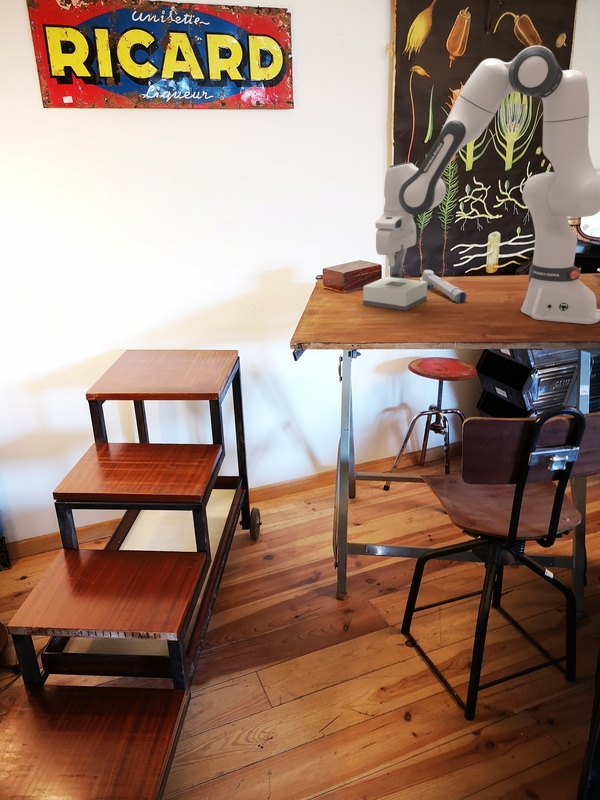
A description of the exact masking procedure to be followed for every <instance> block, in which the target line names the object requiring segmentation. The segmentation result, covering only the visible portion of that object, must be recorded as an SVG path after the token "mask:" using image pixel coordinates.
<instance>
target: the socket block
mask: <svg viewBox="0 0 600 800" xmlns="http://www.w3.org/2000/svg"><path fill="white" fill-rule="evenodd" d="M362 290H363V292H362V293H363V294H362V295H363V296H362V297H363V298H362V299H363V300H362V302H363V303H362V304H363V305H364V306H369V307H375V306H376V307H377V308H382V309H388V308H390V310H394V309H397V311H401V310H404V311H403V312H406V311H409V310H410V309H412V308H414V307H415V306H418V305H419V304H421V303H423V302H426V301H427V297H428V296H427V295H428V293H427V291H428V289H427V282H426V281H420V280H416V279H409V278H408V279H407V278H402V277H390V276H385V277H382V278H380V279H378V280H375V281H373V282H372V281H371V282H370V283H368V284H365V285H363V289H362ZM376 307H375V308H376Z"/></svg>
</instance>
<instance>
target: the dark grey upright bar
mask: <svg viewBox="0 0 600 800" xmlns="http://www.w3.org/2000/svg"><path fill="white" fill-rule="evenodd" d="M394 258H395V260H396V266H394V267H390V266H389V277H393V278H402V277H403V266H404V265H403V264H404V262H403V245H401V250H400V251H397V252H395V256H394Z"/></svg>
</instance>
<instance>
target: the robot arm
mask: <svg viewBox="0 0 600 800" xmlns="http://www.w3.org/2000/svg"><path fill="white" fill-rule="evenodd" d="M515 92H516V93H519V94H521V95H524V96H527V97H534V98H541V100H542V106H543V109H542V110H543V117H542V152H543V155H544V157H546V158H547V160H548V161H550V163H551V166H552V168H553V172H552V171H548V172H541V173H538V174H534V175H531V176H529V178H528V179H527V180H526V182H525V184H524V185H523V189H522V193H521V194H522V195H521V196H522V197H521V198H522V201H523V203H524V205H525V207H526V208H527V209H528V210H529V213H530V216H531V219H532V222H533V227H534V237H535V238H534V250H533V257H532V262H531V264H530V268H529V272H528V273H529V274H528V288H527V291H526V294H525V298H524V301H523V304H522V306H521V307H520V311H521V313H523V314H525V315H528V316H530V317H531V318H532V319H534V320H539V321H540V320H541V321H548V322H549V321H550V322H559V323H561V322H562V323H571V324H581V325H583V324H584V325H593V324H597V323H599V322H600V308H597V298H596V294H595V292H593V291H592V289H590V288H589V287H588V286H586V285H587V284H586V285H585V283H583V282H582V281H581V280H580V274H581V269H582V268H581V267H579V268H578V267H577V266H576V265H575V257H576V252H577V245H578V237H577V234H576V233H575V232H574V230H573V229H572V228H571V226H570V222H569V220H568V219H569V218H587V217H593V216H595V215H597V214H599V212H600V175H599V174H598V173H597V171H596V169H595V167H594V165H593V161H592V158H591V155H590V146H589V124H590V92H589V83H588V78H587V76H586V74H585V73H584V72H582V71H580V70H576V69H565V70H563V69H562V67H561V66H560V64H559V62H558V60H557V59H556V56H555V55H554V54H553V51H551V50H550V49H549V48H547V47H546V46H544V45H530V46H528V47H525V48H524V49H523V50H521V51H520V52H519V53H518V54H517V55H516V56H515V57H513V58H511V59H510V60H509V61H508V62H506V61H503V60H501V59H499V58H485V59H483V60H482V61H481V62H480V63H478V66H477V67H476V68H475V70H474V71H473V72H472V73H471V74H470V77H469V78H468V80H467V81H466V82H465V84H464V86H463V87H462V89H461V91H460V92H459V94H458V96H457V98H456V100H455V102H454V104H453V106H452V108H451V110H450V112H449V114H448V117H447V118H446V121H445V123H444V125H443V127H442V128H441V131H440V133H439V135H438V137H437V138H436V140H435V141H434V144H433V145H432V147H431V148H430V149H429V152H428V153H427V155H426V157H425V158H424V160H423V162H422V163H421V164H420V166H419V167H417V166H416V165H414V163H413V162H409V161H406V162H401V163H396V164H393V165H390V166H389V167H388V168H387V169H386V172H385V179H384V185H383V186H384V188H383V189H384V190H383V196H384V202H385V203H384V206H383V213H382V214H381V216H380V217H379V218H378V219H377V220H376V221H375V229H377V230H376V233H375V249H376V250H375V251H376V253H377V255H378V256H379V255H380V256H386V258H387V260H388V266H389V268H390V267H394V266H396V260H395V258H394V256H395V252H397V251H400V250H401V245H403V263H405V256H406V255H407V250H408V249H409V248H411V247H414V246H416V243H417V224H416V223H415V220H414V216H421V215H423V214H425V213H426V212H428V211H429V210H432V209H433V208H436V207H437V206H438V205H440V204H441V203H442V202H443V201H444V200H445V199H446V198H445V197H446V195H447V186H446V183H445V181H444V179H442V176H443V174H444V173H445V171H446V169H447V167H448V166H449V165H450V163H451V161H452V160H453V158H454V157H455V155H456V154H457V153H458V152H459V151H461V149H462V148H464V147H465V146H466V145H468V144H470V142H473V141H474V140H476V139H478V138H479V136H480V135H482V134H483V132H484V131H485V129H487V127H488V126H489V125H490V124H491V122H492V120H493V118H494V117H495V115H496V113H497V112H498V110H499V108H500V106H501V104H502V103H503V101H504V100H505V99H506V98H507V97H508V96H509V95H510V94H512V93H515ZM568 217H569V218H568Z"/></svg>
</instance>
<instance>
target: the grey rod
mask: <svg viewBox="0 0 600 800" xmlns="http://www.w3.org/2000/svg"><path fill="white" fill-rule="evenodd" d="M419 281H426V282H427V290H433V289H435V288H437V290H439V291H441V292H442V293H444V295H446V296H447V297H449V299H450V300H451V301H454V302H455V303H457V304H461V303H464V302H466V301H467V293H465V292H464V291H463V290H462V289H461V288H460V286H459V287H457V286H455V285H453V284H451V283H450V282H448V281H446V280H445V279H443V278H441V277H439V276H437V275H436V274H435V272H434V271H433V270H431V269H424V270H423V272H422V276H421V277H419Z"/></svg>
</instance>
